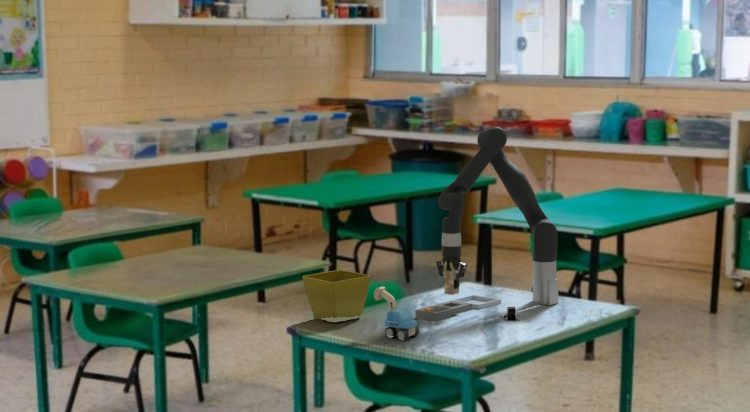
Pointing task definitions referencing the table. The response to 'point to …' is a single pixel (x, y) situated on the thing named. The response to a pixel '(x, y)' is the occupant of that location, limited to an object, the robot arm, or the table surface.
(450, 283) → the plug peg
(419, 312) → the power strip
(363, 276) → the flower pot
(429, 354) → the table surface
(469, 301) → the tray
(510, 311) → the black block
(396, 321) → the toy excavator
